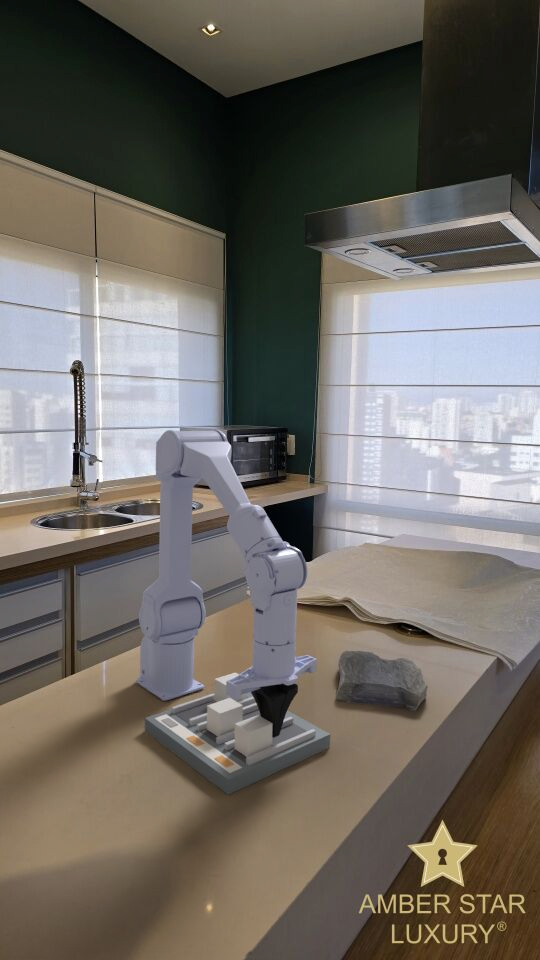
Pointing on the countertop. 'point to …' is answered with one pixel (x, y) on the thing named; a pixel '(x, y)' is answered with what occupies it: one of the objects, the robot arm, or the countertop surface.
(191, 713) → the switch panel
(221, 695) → the tab left
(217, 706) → the tab middle
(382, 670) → the grey rock
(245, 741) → the tab right
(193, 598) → the robot arm
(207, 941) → the countertop surface
